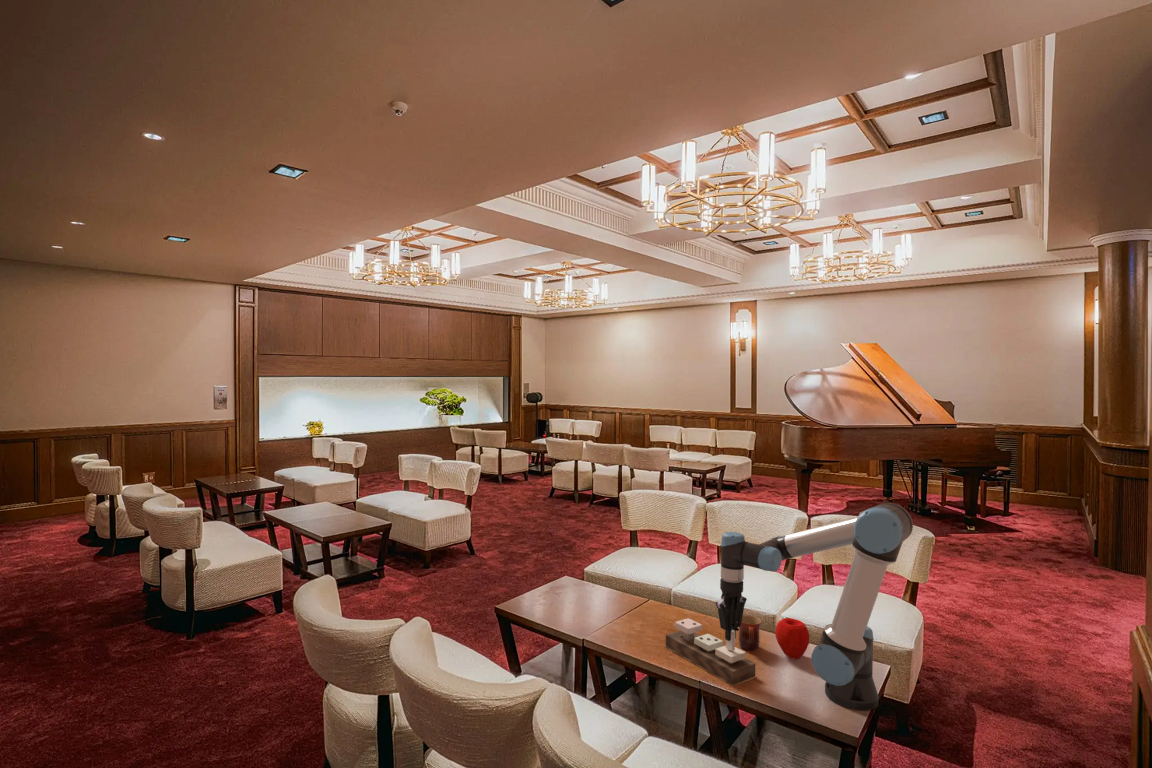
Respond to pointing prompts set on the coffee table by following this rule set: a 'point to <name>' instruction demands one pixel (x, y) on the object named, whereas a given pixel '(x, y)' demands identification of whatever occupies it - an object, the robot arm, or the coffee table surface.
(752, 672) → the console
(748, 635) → the mug
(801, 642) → the apple
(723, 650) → the tile
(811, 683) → the coffee table surface
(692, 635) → the tile
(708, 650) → the three-pip tile
